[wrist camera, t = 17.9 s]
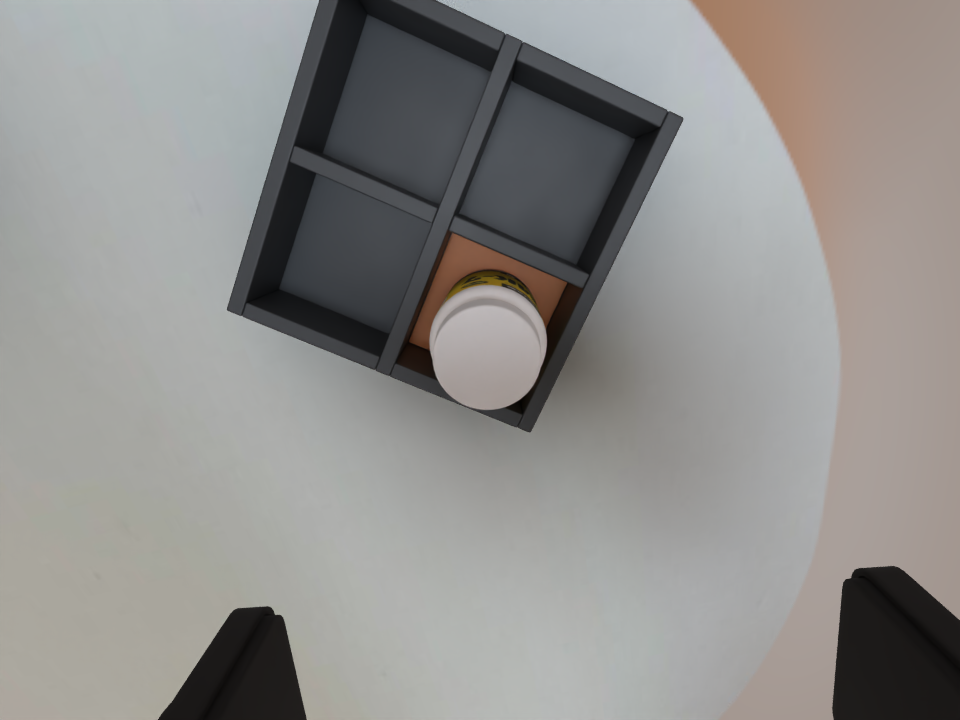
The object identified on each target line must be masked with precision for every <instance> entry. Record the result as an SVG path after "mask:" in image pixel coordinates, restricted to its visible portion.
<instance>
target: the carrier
mask: <svg viewBox="0 0 960 720" xmlns="http://www.w3.org/2000/svg"><path fill="white" fill-rule="evenodd" d="M682 122H683V117H681V116H679V115H677V114H675V113H672V112H668V111H667V110H666V109H664V108H662V107H660V106H658V105H656V104H653V103H651V102H649V101H647V100H645V99H643V98H641V97H639V96H637V95H635V94H632V93H630V92H628V91H626V90H624V89H622V88H620V87H618V86H616V85H613V84H611V83H609V82H607V81H605V80H603V79H601V78H599V77H597V76H594V75H592V74H590V73H588V72H586V71H584V70H582V69H580V68H578V67H575V66H573V65H571V64H569V63H567V62H565V61H563V60H561V59H559V58H557V57H554V56H552V55H550V54H548V53H546V52H544V51H542V50H540V49H538V48H535V47H533V46H531V45H529V44H527V43H525V42H523V43H522V41H521V40H519V39H517V38H515V37H513V36H511V35H508V34H506V35H505V33H504V32H502V31H499V30H497V29H495V28H493V27H491V26H489V25H487V24H485V23H483V22H480V21H478V20H476V19H474V18H472V17H470V16H468V15H466V14H464V13H461V12H459V11H457V10H455V9H453V8H451V7H449V6H447V5H445V4H443V3H440V2H438V1H436V0H319V3H318V6H317V10H316V13H315V16H314V20H313V23H312V27H311V30H310V33H309V37H308V40H307V43H306V47H305V50H304V53H303V57H302V60H301V63H300V67H299V70H298V73H297V77H296V80H295V83H294V87H293V90H292V93H291V97H290V100H289V103H288V107H287V110H286V113H285V117H284V120H283V123H282V127H281V130H280V133H279V137H278V140H277V144H276V147H275V150H274V154H273V157H272V160H271V164H270V167H269V170H268V174H267V177H266V180H265V184H264V187H263V190H262V194H261V197H260V200H259V204H258V207H257V210H256V214H255V217H254V220H253V224H252V227H251V230H250V234H249V237H248V240H247V244H246V247H245V250H244V254H243V257H242V261H241V264H240V267H239V271H238V274H237V277H236V281H235V284H234V287H233V291H232V294H231V297H230V301H229V304H228V307H227V310H228V311H230V312H232V313H235V314H237V315H240V316H243V317H245V318H247V319H250V320H252V321H255V322H257V323H260V324H262V325H265V326H267V327H270V328H272V329H274V330H277V331H279V332H282V333H284V334H287V335H289V336H292V337H294V338H297V339H299V340H302V341H304V342H307V343H309V344H312V345H314V346H317V347H319V348H322V349H324V350H326V351H329V352H331V353H334V354H336V355H339V356H341V357H344V358H346V359H349V360H351V361H354V362H356V363H359V364H361V365H364V366H366V367H369V368H371V369H374V370H375V369H376V371H378V372H380V373H383V374H385V375H388V376H390V377H393V378H395V379H398V380H400V381H403V382H405V383H407V384H410V385H412V386H415V387H417V388H420V389H422V390H425V391H427V392H430V393H432V394H435V395H437V396H440V397H442V398H445V399H447V400H450V401H452V402H455V403H457V404H459V405H462V406H464V407H467V408H469V409H472V410H474V411H477V412H479V413H482V414H484V415H487V416H489V417H492V418H494V419H497V420H499V421H502V422H504V423H507V424H509V425H511V426H514V427H518V428H520V429H522V430H525V431H527V432H531V431H532V429H533V427H534V425H535V423H536V421H537V418H538V416H539V414H540V412H541V410H542V408H543V406H544V404H545V402H546V400H547V398H548V396H549V394H550V392H551V390H552V388H553V386H554V384H555V382H556V380H557V378H558V375H559V373H560V371H561V369H562V367H563V365H564V363H565V361H566V359H567V357H568V355H569V353H570V351H571V349H572V347H573V345H574V343H575V341H576V339H577V337H578V335H579V332H580V330H581V328H582V326H583V324H584V322H585V320H586V318H587V316H588V314H589V312H590V310H591V308H592V306H593V304H594V302H595V300H596V298H597V296H598V294H599V292H600V289H601V287H602V285H603V283H604V281H605V279H606V277H607V275H608V273H609V271H610V269H611V267H612V265H613V263H614V261H615V259H616V257H617V255H618V253H619V251H620V249H621V246H622V244H623V242H624V240H625V238H626V236H627V234H628V232H629V230H630V228H631V226H632V224H633V222H634V220H635V218H636V216H637V214H638V212H639V210H640V208H641V206H642V203H643V201H644V199H645V197H646V195H647V193H648V191H649V189H650V187H651V185H652V183H653V181H654V179H655V177H656V175H657V173H658V171H659V169H660V167H661V165H662V162H663V160H664V158H665V156H666V154H667V152H668V150H669V148H670V146H671V144H672V142H673V140H674V138H675V136H676V134H677V132H678V130H679V128H680V126H681V124H682ZM480 270H500V271H504V272H507V273H509V274H511V275H513V276H515V277H517V278H518V279H519V280H521V281H522V282H523V283H524V284H525V285H526V286H527V288H528V289H529V290H530V292H531V293H532V295H533V297H534V299H535V301H536V304H537V307H538V310H539V312H540V315H541V317H542V319H543V322H544V325H545V329H546V335H547V348H546V354H545V358H544V361H543V363H542V366H541V368H540V372H539V375H538V377H537V379H536V381H535V383H534V385H533V386H532V388H531V389H530V390H529V392H528V393H527V394H526V395H525V396H523V397H522V398H521V399H520V400H518V401H517V402H515V403H513V404H511V405H509V406H506V407H503V408H500V409H494V410H481V409H475V408H471V407H468V406H465V405H463V404H461V403H459V402H458V401H456V400H455V399H453V398H452V397H451V396H450V395H449V394H448V393H447V392H446V391H445V390H444V389H443V387H442V386H441V385H440V383H439V381H438V379H437V377H436V374H435V371H434V367H433V360H432V356H431V352H430V343H429V339H430V331H431V326H432V323H433V320H434V318H435V316H436V314H437V312H438V310H439V309H440V307H441V305H442V303H443V301H444V300H445V298H446V296H447V295H448V293H449V291H450V290H451V289H452V287H453V286H454V285H455V284H456V283H457V282H458V281H459V280H460V279H462V278H463V277H465V276H466V275H468V274H470V273H473V272H476V271H480Z"/></svg>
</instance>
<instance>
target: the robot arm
mask: <svg viewBox="0 0 960 720" xmlns="http://www.w3.org/2000/svg"><path fill="white" fill-rule="evenodd" d="M832 709H833V717H834V720H960V620H959V619H957V618H956V617H955V616H954V615H953V614H952V613H951V612H950V611H949V610H947V609H946V608H945V607H944V606H943V605H942V604H941V603H940V602H938V601H937V600H936V599H935V598H934V597H933V596H932V595H930V594H929V593H928V592H927V591H926V590H925V589H924V588H923V587H921V586H920V585H919V584H918V583H917V582H916V581H915V580H914V579H912V578H911V577H910V576H909V575H908V574H906V573H905V572H904V571H903V570H901V569H900V568H898V567H895V566H888V567H872V568H859V569H856V570H854V572H853V574H852V577H851V579H846V580H845V581H844V582H843V588H842V599H841V611H840V623H839V635H838V647H837V659H836V672H835V683H834V695H833V707H832ZM158 720H307V719H306V715H305V710H304V706H303V701H302V697H301V692H300V688H299V684H298V679H297V675H296V670H295V666H294V662H293V657H292V653H291V648H290V644H289V640H288V635H287V631H286V626H285V622H284V619H283V617H282V616H281V615H275V614H274V611H273V609H272V608H271V607H268V606H267V607H252V608H237V609H235V610H233V612H232V613H231V614H230V615H229V617H228V618H227V620H226V621H225V623H224V624H223V626H222V627H221V629H220V630H219V632H218V633H217V635H216V636H215V638H214V639H213V641H212V642H211V644H210V645H209V647H208V648H207V650H206V651H205V653H204V654H203V656H202V657H201V659H200V660H199V662H198V663H197V665H196V666H195V668H194V669H193V671H192V672H191V674H190V675H189V677H188V678H187V680H186V681H185V683H184V684H183V686H182V687H181V689H180V691H179V692H178V694H177V695H176V697H175V698H174V700H173V701H172V703H170V705H169V706H168V707H167V708H166V709H165V711H164V712H163V713H162V714H161V716H160V717H159V719H158Z"/></svg>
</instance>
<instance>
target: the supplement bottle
mask: <svg viewBox="0 0 960 720" xmlns="http://www.w3.org/2000/svg"><path fill="white" fill-rule="evenodd" d="M429 343H430V352H431V356H432V360H433V367H434V371H435V374H436V377H437V379H438V381H439V383H440V385H441V386H442V387H443V389H444V390H445V391H446V392H447V393H448V394H449V395H450V396H451V397H452V398H453V399H455V400H456V401H458V402H459V403H461V404H463V405H465V406H468V407H471V408H475V409H481V410H494V409H500V408H503V407H506V406H509V405H511V404H513V403H515V402H517V401H518V400H520V399H521V398H522V397H523V396H525V395H526V394H527V393H528V392H529V390H530V389H531V388H532V386H533V385H534V383H535V381H536V379H537V377H538V375H539V372H540V368H541V366H542V363H543V361H544V358H545V354H546V348H547V335H546V329H545V325H544V322H543V319H542V317H541V315H540V312H539V310H538V307H537V304H536V301H535V299H534V297H533V295H532V293H531V292H530V290H529V289H528V288H527V286H526V285H525V284H524V283H523V282H522V281H521V280H519V279H518V278H517V277H515V276H513V275H511V274H509V273H507V272H504V271H500V270H480V271H476V272H473V273H470V274H468V275H466V276H465V277H463V278H462V279H460V280H459V281H458V282H457V283H456V284H455V285H454V286H453V287H452V289H451V290H450V291H449V293H448V295H447V296H446V298H445V300H444V301H443V303H442V305H441V307H440V309H439V310H438V312H437V314H436V316H435V318H434V320H433V323H432V326H431V331H430V339H429Z"/></svg>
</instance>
